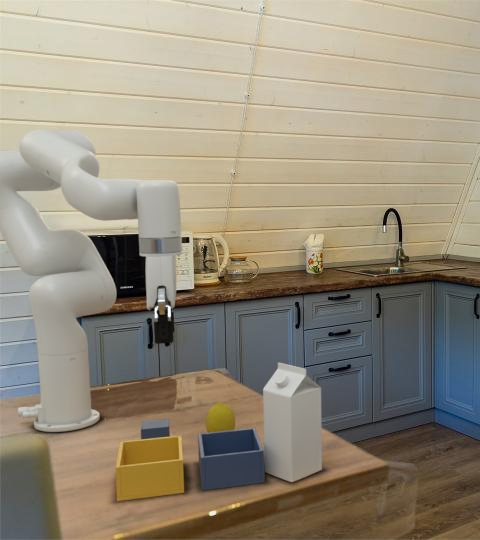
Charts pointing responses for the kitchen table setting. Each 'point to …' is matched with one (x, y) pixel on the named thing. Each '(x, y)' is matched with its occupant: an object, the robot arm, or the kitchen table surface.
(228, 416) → the lemon
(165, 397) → the kitchen table surface
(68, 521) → the kitchen table surface
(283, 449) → the milk carton
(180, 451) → the yellow bin
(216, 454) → the blue bin
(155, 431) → the blue block
